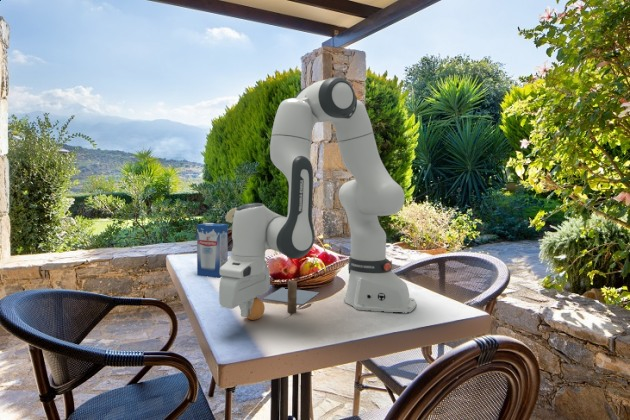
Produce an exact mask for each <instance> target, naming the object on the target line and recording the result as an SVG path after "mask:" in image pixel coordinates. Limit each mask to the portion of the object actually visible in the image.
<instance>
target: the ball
mask: <svg viewBox="0 0 630 420" xmlns="http://www.w3.org/2000/svg"><path fill="white" fill-rule="evenodd" d="M265 307H266V306H265V304H264V301H263V300H261V298H258V297H257V298H254V303H253V306H252V308H251V315H249V316H247V317H246V319H248V320H252V321H255V320H258V319H260V318H261V317H262V316H263V315H264V313H265V309H266V308H265Z"/></svg>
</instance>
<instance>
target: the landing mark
mask: <svg viewBox="0 0 630 420" xmlns="http://www.w3.org/2000/svg"><path fill="white" fill-rule="evenodd" d="M285 288H286V287H280V288H278V289H277V290H275V291H274V292H272V293H270V294H268V295H266V296H264V297H263V298H262V299H263V300H267V301H274V302H279V303H280V302H281V303H287V304H288V289H285ZM319 294H320V292H317V291H311V290H304V289H303V290H302V289H297V303H296V305H300V306H304V305H305V304H307V303H308V302H309V301H310V300H312V299H314V298H315V297H316V296H318V295H319Z"/></svg>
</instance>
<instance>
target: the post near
mask: <svg viewBox="0 0 630 420" xmlns="http://www.w3.org/2000/svg"><path fill="white" fill-rule="evenodd" d="M287 288H288V303H287V310H286V311H287V313H288V314H295V313H297V304H296V303H297V290H298V289H297V288H298V282H297V280H294V279H293V280H288V281H287Z"/></svg>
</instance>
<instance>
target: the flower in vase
mask: <svg viewBox="0 0 630 420" xmlns="http://www.w3.org/2000/svg"><path fill="white" fill-rule="evenodd" d="M237 208H238V207H234V208H233V207H232V208H231V209H229V211H227V212H226V215H225V217H224V218H225V222H227V223H232V224H233V218H234V214H235V211H236V209H237ZM232 227H233V225H231V226H230V227H228V231H229V230H230V231H232ZM228 257H229V258H228V260H229V259H230V258H231V255H230V256H228Z"/></svg>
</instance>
